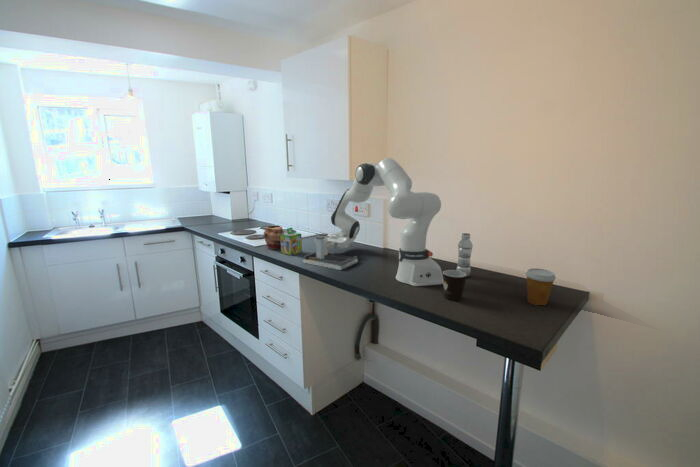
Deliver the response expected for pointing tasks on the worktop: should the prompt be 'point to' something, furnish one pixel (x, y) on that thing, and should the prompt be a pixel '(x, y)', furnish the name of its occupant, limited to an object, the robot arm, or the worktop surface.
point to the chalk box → (291, 242)
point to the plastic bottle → (464, 254)
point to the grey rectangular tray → (331, 260)
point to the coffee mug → (453, 284)
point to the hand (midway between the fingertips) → (322, 245)
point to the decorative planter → (273, 236)
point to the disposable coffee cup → (539, 285)
